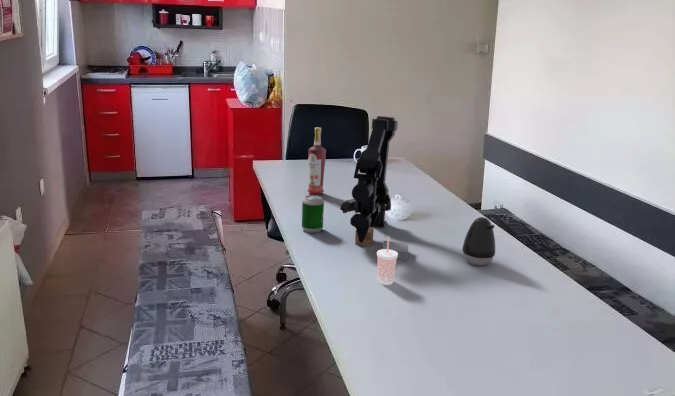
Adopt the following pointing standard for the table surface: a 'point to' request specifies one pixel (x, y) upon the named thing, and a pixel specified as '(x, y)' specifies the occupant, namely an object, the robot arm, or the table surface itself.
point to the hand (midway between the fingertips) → (364, 237)
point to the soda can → (312, 213)
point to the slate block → (398, 249)
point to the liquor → (316, 165)
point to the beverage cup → (386, 265)
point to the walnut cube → (367, 240)
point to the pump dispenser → (479, 242)
